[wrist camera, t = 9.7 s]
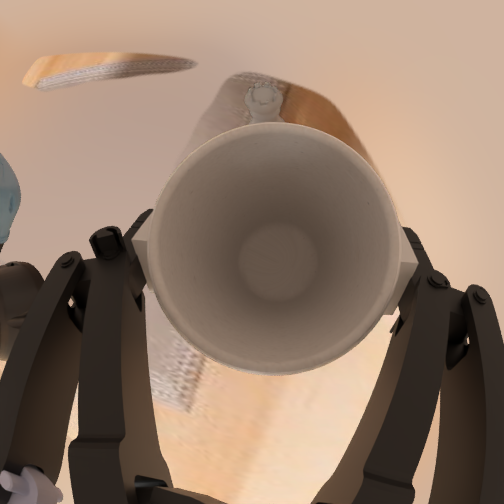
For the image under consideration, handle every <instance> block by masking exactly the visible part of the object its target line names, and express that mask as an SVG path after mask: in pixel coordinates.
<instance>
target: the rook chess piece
mask: <svg viewBox="0 0 504 504" xmlns="http://www.w3.org/2000/svg"><path fill="white" fill-rule="evenodd" d="M282 102H283V95H282V94H281V92H280V91H279V90H278V89H277V87H276V86H271V83H270V82H266V81H265V85H260V82H257V83H254V87H253V88H252V87H250V88H249V89H248V92H247V94H246V96H245V104H246V106H247V108H248V109H249V112H250V114H251V116H252V120H251V121H250V122H249V124H248V125H250V124H256V123H265V122H284V123H285V121H284V119H282V118H281V117H280V116H279V113H280V110H281V108H280V106H281V104H282Z"/></svg>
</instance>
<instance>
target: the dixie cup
mask: <svg viewBox="0 0 504 504" xmlns="http://www.w3.org/2000/svg"><path fill="white" fill-rule="evenodd" d="M401 253H402V244H401V232H400V226H399V221H398V217H397V213H396V210H395V207H394V204H393V201H392V199H391V197H390V195H389V193H388V191H387V189H386V187H385V185H384V183H383V182H382V180H381V179H380V177H379V176H378V174H377V173H376V172H375V170H374V169H373V168H372V167H371V166H370V164H369V163H368V162H367V161H366V160H365V159H364V158H363V157H362V156H361V155H360V154H358V153H357V152H356V151H355V150H354V149H352V148H351V147H350V146H348V145H347V144H345V143H344V142H342V141H341V140H339V139H337V138H335V137H334V136H332V135H330V134H327V133H325V132H323V131H320V130H317V129H315V128H311V127H308V126H304V125H299V124H293V123H284V122H265V123H256V124H250V125H246V126H242V127H238V128H235V129H232V130H229V131H227V132H224V133H222V134H220V135H218V136H216V137H214V138H212V139H210V140H209V141H207V142H205V143H204V144H202V145H201V146H200V147H198V148H197V149H196V150H194V151H193V152H192V153H191V154H190V155H189V156H187V157H186V158H185V159H184V160H183V161H182V162H181V163H180V165H179V166H178V167H177V168H176V169H175V171H174V172H173V173H172V174H171V176H170V177H169V179H168V180H167V182H166V183H165V185H164V187H163V189H162V190H161V192H160V194H159V197H158V199H157V201H156V204H155V206H154V209H153V212H152V216H151V220H150V224H149V230H148V238H147V260H148V268H149V274H150V279H151V283H152V286H153V289H154V292H155V295H156V297H157V300H158V302H159V304H160V306H161V308H162V310H163V312H164V313H165V315H166V317H167V318H168V320H169V321H170V323H171V324H172V325H173V327H174V328H175V329H176V330H177V331H178V333H179V334H180V335H181V336H182V337H183V338H184V339H185V340H186V341H187V342H188V343H189V344H190V345H192V346H193V347H194V348H195V349H197V350H198V351H199V352H201V353H202V354H204V355H205V356H207V357H208V358H210V359H212V360H214V361H216V362H218V363H220V364H222V365H224V366H227V367H229V368H232V369H235V370H238V371H242V372H246V373H251V374H257V375H268V376H280V375H291V374H297V373H302V372H306V371H310V370H313V369H316V368H319V367H321V366H324V365H326V364H328V363H330V362H332V361H334V360H336V359H338V358H340V357H341V356H343V355H344V354H346V353H347V352H349V351H350V350H351V349H353V348H354V347H355V346H356V345H358V344H359V343H360V342H361V341H362V340H363V339H364V338H365V337H366V336H367V335H368V334H369V333H370V332H371V330H372V329H373V328H374V327H375V325H376V324H377V323H378V321H379V320H380V318H381V317H382V315H383V314H384V312H385V310H386V308H387V307H388V305H389V302H390V300H391V298H392V296H393V293H394V290H395V287H396V284H397V280H398V276H399V271H400V265H401Z"/></svg>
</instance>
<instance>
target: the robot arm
mask: <svg viewBox="0 0 504 504" xmlns="http://www.w3.org/2000/svg"><path fill="white" fill-rule="evenodd" d="M20 200H21V193H20V186H19V183H18V180H17V178H16V175H15V173H14V171H13V170H12V168H11V167H10V165H9V163H8V162H7V161H6V159H5V158H4V157H3V155H2V154H1V153H0V252H1V249H2V247H3V245H4V243H5V242H6V241H7V239H8V237H9V233H10V227H11V225H12V222H13V220H14V218H15V215H16V213H17V211H18V209H19V205H20ZM152 212H153V209H148V210H147V211H145V212H144V213H142V214H141V215H140V216H139V217H138V218H137V220H136V221H135V222H134V223H133V225H132V226H131V228H129V230H128V231H127V232H126V233H125V235H124V236H123V237H122V234H121V230H120V229H119V228H118V227H115V226H108V227H105V228H102V229H100V230H98V231H96V232H95V233H94V234H93V235H92V236H91V237H90V239H89V242H90V244H91V246H92V249H93V251H94V254H95V256H96V258H93V259H87V260H83V259H82V257H81V254H80V253H78V252H77V251H71V252H67V253H65V254H63V255H62V256H61V257H60V258H59V259H58V260H57V261H56V263H55V264H54V266H53V268H52V269H51V271H50V273H49V274H48V276H47V278H46V280H45V281H44V279H43V278H42V276H41V274H40V273H39V271H38V270H37V269H36V268H35V267H34V266H33V265H31V264H29V263H26V262H17V261H15V262H9V263H7V264H5V265H1V266H0V360H3V361H7V362H6V365H5V368H4V371H3V373H2V376H1V380H0V504H57V502H61V501H62V500H63V494H62V492H61V490H60V489H59V488H57V487H56V486H55V484H56V482H57V479H58V477H59V473H60V469H61V466H62V460H63V455H64V448H65V442H66V436H67V430H68V425H69V420H70V415H71V410H72V405H73V401H74V397H75V393H76V389H77V385H78V381H79V386H78V426H79V432H78V436H77V438H76V439H74V440H73V441H71V443H70V445H69V447H68V461H69V470H70V479H71V487H72V493H73V499H74V504H227V503H224V502H222V501H219V500H217V499H215V498H212V497H210V496H208V495H203V494H199V493H195V492H191V491H187V490H183V489H179V488H173V484H172V480H171V476H170V472H169V469H168V466H167V464H166V462H165V460H164V458H163V457H162V454H161V451H160V446H159V441H158V435H157V430H156V423H155V417H154V410H153V403H152V395H151V386H150V377H149V367H148V354H147V340H146V319H145V296H144V293H143V291H142V290H143V288H144V286H145V284H146V283H147V286H148V288H149V291H150V293H155V292H154V289H153V286H152V283H151V279H150V274H149V268H148V260H147V238H148V230H149V224H150V220H151V216H152ZM398 221H399V220H398ZM399 226H400V232H401V244H402V253H401V265H400V271H399V276H398V280H397V284H396V287H395V290H394V293H393V296H392V298H391V300H390V302H389V305H388V307H387V308H386V310H385V312H384V314H383V315H393V313H394V311H395V310H396V308H397V306H398V307H399V311H400V315H399V317H398V318H397V320H396V322H395V324H394V325H393V327H392V328H391V330H390V333H392V332H393V334H392V337H391V341H390V344H389V347H388V350H387V353H386V357H385V360H384V363H383V365H382V368H381V371H380V374H379V377H378V379H377V382H376V385H375V387H374V390H373V393H372V395H371V398H370V400H369V402H368V405H367V407H366V410H365V412H364V414H363V416H362V419H361V421H360V423H359V425H358V427H357V430H356V432H355V434H354V436H353V438H352V440H351V442H350V444H349V446H348V448H347V450H346V452H345V454H344V456H343V457H342V459H341V461H340V463H339V465H338V467H337V468H336V470H335V472H334V473H333V475H332V476H331V478H330V479H329V480H328V481H327V482H326V483H325V484H324V485H323V486H322V488H321V489H320V490H319V492H318V493H317V495H316V496H315V498H314V499H313V501H312V502H311V504H412V503H413V501H414V498H415V489H414V487H413V485H412V479H413V476H414V473H415V471H416V468H417V466H418V463H419V461H420V458H421V455H422V452H423V449H424V446H425V443H426V440H427V437H428V434H429V431H430V427H431V424H432V420H433V416H434V413H435V409H436V404H437V400H438V395H439V391H440V426H439V439H438V450H437V458H436V466H435V472H434V478H433V484H432V489H431V494H430V499H429V503H428V504H504V343H503V339H502V335H501V331H500V327H499V323H498V319H497V316H496V312H495V309H494V306H493V302H492V299H491V297H490V295H489V294H488V293H487V291H486V290H485V289H484V288H483V287H480V286H478V285H474V284H473V285H470V286H469V287H468V288H467V290H466V291H465V292H462V291H459V290H457V289H454V288H451V286H450V282H449V281H448V279H447V278H446V277H445V276H444V275H443V274H442V273H440V272H439V271H437V270H434V269H433V266H432V264H431V262H430V260H429V258H428V256H427V254H426V252H425V250H424V248H423V246H422V244H421V241H420V239H419V238H418V236H417V234H416V233H414V232H413V230H412V229H411V228H407V227H402V226H401V224H400V222H399ZM70 298H71V299H72V300H73V302H74V303H73V305H72V306H71V307H70V306H69V304H68V302H69V300H70ZM468 337H469V344H468V343H467V338H468Z"/></svg>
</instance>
